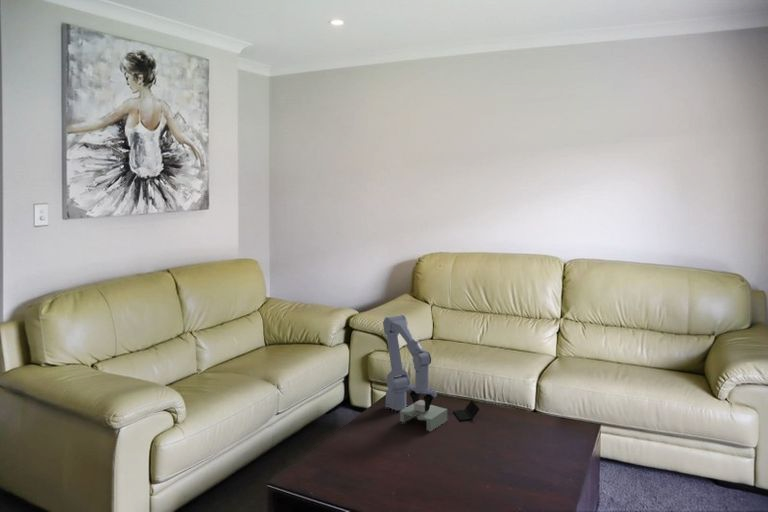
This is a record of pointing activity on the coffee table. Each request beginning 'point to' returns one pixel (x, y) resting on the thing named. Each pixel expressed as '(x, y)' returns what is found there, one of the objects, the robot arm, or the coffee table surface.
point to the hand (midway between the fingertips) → (421, 409)
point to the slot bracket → (426, 415)
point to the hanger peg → (420, 407)
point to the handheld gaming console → (467, 412)
